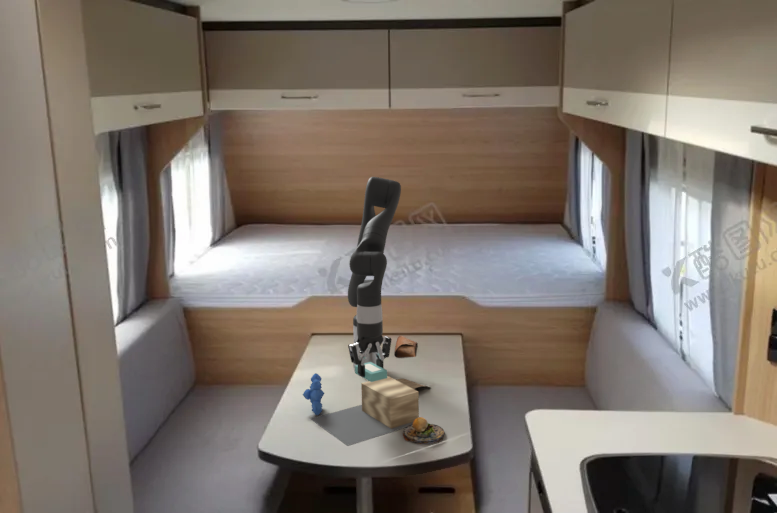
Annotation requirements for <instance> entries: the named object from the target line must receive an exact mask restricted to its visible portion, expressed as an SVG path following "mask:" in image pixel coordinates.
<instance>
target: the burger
mask: <svg viewBox="0 0 777 513" xmlns="http://www.w3.org/2000/svg"><path fill="white" fill-rule="evenodd" d="M445 435H446V432H445V430H444V429H443V427H442V426H439V425H437V424H433V423H429V422H428V421H427V419H426V418H424V417H423V416H421V417H419V418H417V417H416V419H415V420H414V422H413V424H412V425H409V426H407V427H406V428H404V429H403V432H402V436H403V438H404V440H405V441H407V442H411V443H413V444H417V445H427V444H431V446H433V445H435V444H436V445H437V444H439V443H442V442H443V439H444V436H445Z"/></svg>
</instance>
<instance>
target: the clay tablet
mask: <svg viewBox="0 0 777 513" xmlns="http://www.w3.org/2000/svg"><path fill="white" fill-rule="evenodd" d="M394 379H395V378H394ZM395 380H397V381H399V382H401V383H403V384H405V385H407V386H408V387H410V388H412V389H414V390H416V389H417V388H421V387H425V388H429V389H431V387H430V386H426V385H423V384H421V383H418V382H415V381H412V380H409V379H407V378H396V379H395Z"/></svg>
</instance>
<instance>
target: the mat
mask: <svg viewBox="0 0 777 513" xmlns="http://www.w3.org/2000/svg"><path fill="white" fill-rule="evenodd" d="M310 421H312V422H314V424H316V425H318V426H319V427H321V428H322V429H324V431H326V432H328V433H329V434H330V435H331V436H333V437H334V438H336V439H337V440H338V441H340V442H341V443H343V444H344V445H345V446H347V447H349V446H352V445H355V444H360V443H361V442H362V443H363V442H365V441H368V440H371V439H374V438H377V437H380V436H384V435H387V434H391V433H394V432H397V431H400V430H404V429H405V428H406V427H407V426H409V425H412V424H413V422H411V423H408V424H404V425H401V426H398V427H395V428H389V427H388V426H386V425H385V424H383V423H381V422H380V421H378V420H377V419H375V418H373V417H372V416H370V415H368V414H367V413H365V412H364V411H362V404H359V405H356V406H352V407H348V408H345V409H341V410H338V411H333V412H331V413H325V414H323V415H320V416H319V415H318V416H315V417H312V418H310Z"/></svg>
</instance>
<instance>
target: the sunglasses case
mask: <svg viewBox="0 0 777 513" xmlns="http://www.w3.org/2000/svg"><path fill="white" fill-rule="evenodd" d="M396 338H397V339H396V342H395V347H394V356H395V357H396V358H415V357H416V356H417V355H416V348H417V345H418V342H417V341H414V340H411V339H408V337H406V336H403V335H398V337H396Z"/></svg>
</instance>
